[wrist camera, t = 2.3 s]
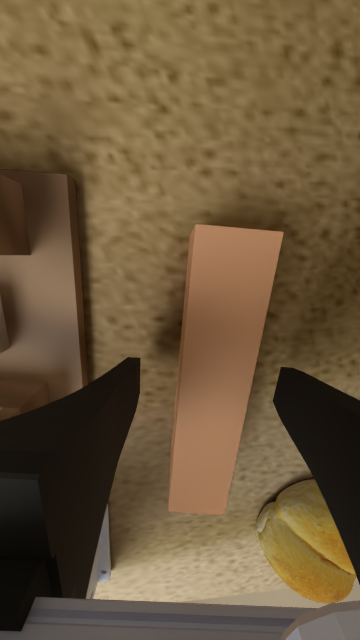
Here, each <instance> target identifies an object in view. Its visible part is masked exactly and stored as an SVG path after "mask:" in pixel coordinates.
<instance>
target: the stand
mask: <svg viewBox="0 0 360 640" xmlns="http://www.w3.org/2000/svg"><path fill="white" fill-rule="evenodd" d="M88 384H89V383H88V368H87V353H86V337H85V322H84V307H83V291H82V276H81V261H80V245H79V230H78V215H77V199H76V184H75V180H74V179H72V178H71V177H69V176H68V175H67V174H56V173H43V172H31V171H19V170H7V169H0V421H1V420H4V419H8V418H11V417H14V416H17V415H20V414H23V413H26V412H28V411H31V410H34V409H37V408H39V407H42V406H44V405H47V404H49V403H51V402H54V401H56V400H58V399H61V398H63V397H65V396H67V395H69V394H71V393H73V392H75V391H77V390H79V389H81V388H83V387H85V386H86V385H88Z"/></svg>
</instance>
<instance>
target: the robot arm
mask: <svg viewBox="0 0 360 640" xmlns="http://www.w3.org/2000/svg"><path fill="white" fill-rule="evenodd" d="M139 394H140V358H132V357H128V358H126V359H125V360H124V361H122V362H121V363H119V364H118V365H117V366H115V367H114V368H113V369H111V370H110V371H108V372H107V373H105V374H104V375H102V376H101V377H99V378H98V379H96V380H94V381H93V382H91V383H90V384H88V385H86V386H85V387H83V388H81V389H79V390H77V391H75V392H73V393H71V394H69V395H67V396H65V397H63V398H61V399H58V400H56V401H54V402H51V403H49V404H47V405H44V406H42V407H39V408H37V409H34V410H31V411H28V412H26V413H23V414H20V415H17V416H14V417H11V418H8V419H4V420H1V421H0V640H360V601H350V602H340V603H330V604H328V605H326V606H323V607H321V608H296V607H295V608H294V607H272V606H271V607H270V606H247V605H246V606H245V605H220V604H198V603H173V602H149V601H124V600H100V599H93V598H94V594H95V590H96V586H97V582H107V581H109V580H110V576H111V561H110V537H109V513H108V504H107V503H108V499H109V495H110V491H111V487H112V483H113V479H114V475H115V471H116V467H117V464H118V460H119V457H120V454H121V451H122V448H123V446H124V443H125V440H126V437H127V434H128V431H129V429H130V426H131V423H132V420H133V417H134V414H135V411H136V407H137V403H138V398H139ZM273 402H274V405H275V407H276V410H277V412H278V415H279V417H280V419H281V421H282V423H283V425H284V426H285V428H286V430H287V431H288V433H289V435H290V437H291V438H292V440H293V442H294V443H295V445H296V447H297V448H298V450H299V452H300V454H301V455H302V457H303V459H304V460H305V462H306V464H307V466H308V467H309V469H310V471H311V473H312V475H313V477H314V479H315V481H316V483H317V485H318V487H319V489H320V491H321V494H322V496H323V498H324V500H325V502H326V504H327V507H328V509H329V511H330V513H331V516H332V518H333V520H334V522H335V525H336V527H337V529H338V532H339V534H340V536H341V539H342V541H343V544H344V546H345V549H346V551H347V554H348V556H349V558H350V561H351V563H352V566H353V568H354V571H355V573H356V576H357V579H358V581H359V584H360V400H358V399H356V398H354V397H352V396H349V395H347V394H345V393H343V392H341V391H339V390H337V389H335V388H333V387H332V386H330V385H328V384H326V383H324V382H322V381H320V380H318V379H316V378H314V377H312V376H310V375H308V374H306V373H304V372H302V371H300V370H297V369H295V368H287V367H281V369H280V373H279V378H278V382H277V386H276V390H275V394H274V398H273Z"/></svg>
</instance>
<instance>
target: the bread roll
mask: <svg viewBox="0 0 360 640" xmlns="http://www.w3.org/2000/svg"><path fill="white" fill-rule="evenodd" d="M255 534H256V537H257V539H258V542H259V543H260V546H261V548H262V550H263V552H264V555H265V557H266V559H267V560H268V562H269V564H270V565H271V566H272V568H273V569H274V571H275V572H276V574H277V575H278V576H279V577H280V578H281V579H282V580H283V581H284V582H285V583H286V584H287V585H288V586H289V587H290V588H291V589H292V590H294V591H295V592H297V593H298V594H299V595H301V596H303V597H305V598H307V599H310V600H313V601H316V602H321V603H335V602H338V601H341V600H343V599H344V598H346V597H347V596H348V595H349V593H350V592H351V590H352V587H353V584H354V581H355V578H356V573H355V571H354V568H353V566H352V563H351V561H350V558H349V556H348V554H347V551H346V549H345V546H344V544H343V541H342V539H341V536H340V534H339V532H338V529H337V527H336V525H335V522H334V520H333V518H332V516H331V513H330V511H329V509H328V507H327V504H326V502H325V500H324V498H323V496H322V494H321V491H320V489H319V487H318V485H317V483H316V481H315V479H310V480H304V481H301V482H298V483H295V484H293V485H291V486H290V487H288V488H286V489H285V490H283V491H282V492H281V493H280V494H279V495H278V497H277V499H276V502H271V503H268V504H266V506H265V507H264V508H263V510H262V512H261V513H260V515H259V517H258V520H257V523H256V528H255Z"/></svg>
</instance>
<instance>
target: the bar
mask: <svg viewBox="0 0 360 640" xmlns="http://www.w3.org/2000/svg"><path fill="white" fill-rule="evenodd" d="M283 233H284V232H278V231H267V230H256V229H245V228H234V227H223V226H212V225H201V224H195V226H194V228H193V230H192V232H191V234H190V241H189V252H188V263H187V274H186V285H185V297H184V308H183V319H182V330H181V341H180V352H179V363H178V375H177V386H176V397H175V408H174V419H173V430H172V442H171V457H170V479H169V502H168V512H177V513H196V514H215V515H224V514H225V510H226V505H227V500H228V495H229V491H230V486H231V481H232V476H233V472H234V467H235V462H236V457H237V452H238V448H239V443H240V438H241V433H242V429H243V424H244V419H245V414H246V410H247V405H248V400H249V395H250V391H251V386H252V381H253V376H254V371H255V367H256V362H257V357H258V352H259V348H260V343H261V338H262V333H263V329H264V324H265V319H266V314H267V309H268V305H269V300H270V295H271V290H272V286H273V281H274V276H275V271H276V267H277V262H278V257H279V252H280V248H281V243H282V238H283Z"/></svg>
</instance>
